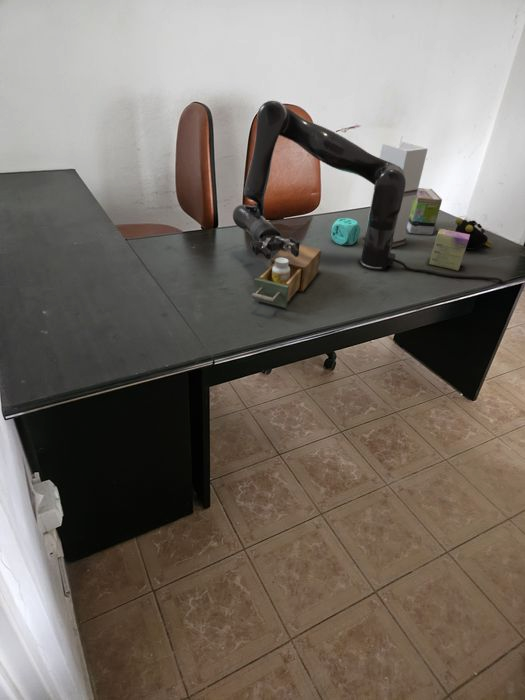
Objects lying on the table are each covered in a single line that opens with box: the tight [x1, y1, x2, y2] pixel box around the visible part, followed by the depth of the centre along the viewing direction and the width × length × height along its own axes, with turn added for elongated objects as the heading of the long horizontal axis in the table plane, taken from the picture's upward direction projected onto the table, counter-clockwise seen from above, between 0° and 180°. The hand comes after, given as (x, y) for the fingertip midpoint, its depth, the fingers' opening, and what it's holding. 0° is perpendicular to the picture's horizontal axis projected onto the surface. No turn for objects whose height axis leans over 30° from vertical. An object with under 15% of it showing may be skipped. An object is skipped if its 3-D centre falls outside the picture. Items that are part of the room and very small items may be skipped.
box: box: [428, 228, 470, 272], centre depth 167 cm, size 10×6×12 cm, turn 65°
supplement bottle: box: [272, 258, 290, 285], centre depth 141 cm, size 5×5×10 cm
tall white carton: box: [364, 141, 428, 248], centre depth 176 cm, size 11×11×35 cm
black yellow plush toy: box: [454, 217, 493, 250], centre depth 181 cm, size 12×15×15 cm
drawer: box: [251, 263, 302, 309], centre depth 140 cm, size 20×10×7 cm, turn 156°
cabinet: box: [269, 244, 322, 293], centre depth 153 cm, size 15×11×8 cm
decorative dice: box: [330, 217, 361, 246], centre depth 181 cm, size 8×8×8 cm
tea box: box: [406, 187, 443, 235], centre depth 195 cm, size 15×10×15 cm, turn 179°
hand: (283, 255), depth 137 cm, fingers open, 8 cm apart
